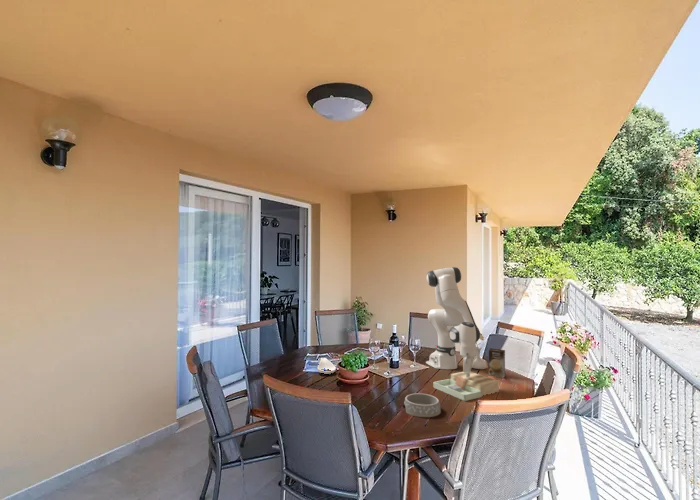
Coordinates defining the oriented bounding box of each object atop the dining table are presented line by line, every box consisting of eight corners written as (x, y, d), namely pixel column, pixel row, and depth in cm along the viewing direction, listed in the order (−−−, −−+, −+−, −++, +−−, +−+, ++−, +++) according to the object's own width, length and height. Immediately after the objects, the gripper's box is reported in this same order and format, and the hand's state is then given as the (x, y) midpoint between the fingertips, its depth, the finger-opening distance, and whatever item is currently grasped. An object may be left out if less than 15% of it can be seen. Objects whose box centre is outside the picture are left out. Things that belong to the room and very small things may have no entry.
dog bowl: (434, 402, 190) (434, 392, 190) (444, 417, 172) (444, 405, 172) (401, 403, 190) (401, 392, 190) (408, 418, 171) (408, 406, 171)
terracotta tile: (457, 383, 212) (455, 383, 211) (459, 375, 211) (457, 376, 210) (463, 388, 208) (461, 389, 207) (465, 380, 207) (463, 381, 206)
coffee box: (488, 375, 235) (488, 350, 235) (490, 373, 240) (489, 348, 241) (503, 378, 230) (503, 351, 231) (505, 375, 236) (505, 349, 236)
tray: (433, 387, 213) (433, 381, 213) (449, 383, 219) (449, 378, 219) (464, 401, 192) (464, 395, 192) (481, 396, 198) (481, 391, 198)
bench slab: (450, 384, 218) (450, 374, 218) (468, 380, 225) (468, 370, 225) (480, 396, 199) (480, 384, 199) (498, 392, 205) (498, 380, 206)
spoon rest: (337, 375, 235) (337, 364, 235) (319, 377, 232) (319, 365, 232) (329, 365, 258) (329, 355, 258) (312, 366, 254) (312, 356, 255)
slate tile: (455, 384, 210) (455, 388, 210) (448, 385, 208) (448, 389, 207) (461, 387, 205) (461, 391, 205) (454, 388, 203) (454, 392, 203)
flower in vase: (488, 371, 245) (488, 332, 246) (470, 370, 247) (470, 332, 248) (485, 365, 258) (485, 329, 259) (468, 364, 260) (467, 328, 261)
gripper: (472, 356, 199) (472, 382, 199) (475, 348, 218) (475, 372, 218) (460, 355, 202) (460, 381, 201) (463, 347, 221) (464, 371, 220)
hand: (468, 376), depth 210 cm, fingers closed
